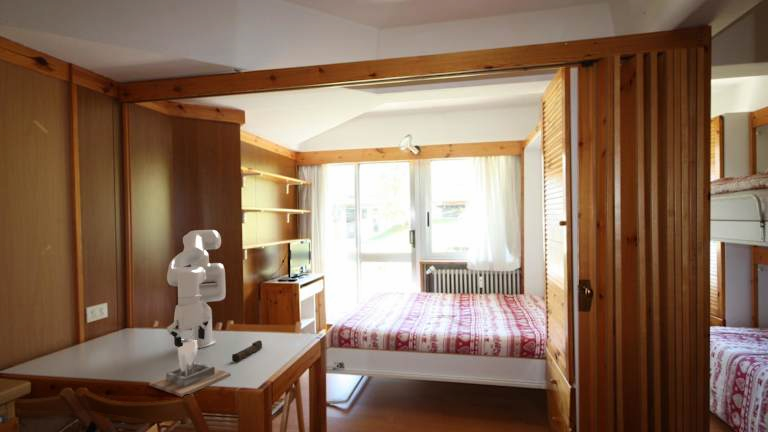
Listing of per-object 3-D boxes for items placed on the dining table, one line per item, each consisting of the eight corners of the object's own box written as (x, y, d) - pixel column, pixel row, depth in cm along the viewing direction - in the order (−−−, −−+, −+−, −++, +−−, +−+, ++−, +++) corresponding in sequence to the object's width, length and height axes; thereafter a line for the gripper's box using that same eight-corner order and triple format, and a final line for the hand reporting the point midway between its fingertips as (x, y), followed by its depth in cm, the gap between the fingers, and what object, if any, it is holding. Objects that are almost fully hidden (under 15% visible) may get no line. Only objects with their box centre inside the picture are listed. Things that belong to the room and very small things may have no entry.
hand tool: (238, 363, 160) (238, 352, 160) (231, 362, 162) (231, 351, 162) (266, 349, 178) (266, 339, 178) (260, 348, 179) (259, 339, 179)
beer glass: (177, 383, 137) (177, 343, 138) (178, 377, 143) (178, 339, 144) (197, 379, 140) (197, 341, 141) (197, 373, 147) (197, 336, 147)
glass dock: (149, 385, 139) (149, 374, 140) (197, 366, 157) (197, 357, 157) (182, 397, 129) (182, 385, 129) (230, 375, 146) (230, 365, 146)
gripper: (203, 294, 153) (204, 334, 153) (161, 304, 138) (162, 348, 138) (214, 296, 149) (215, 337, 149) (172, 306, 134) (174, 351, 134)
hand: (190, 342), depth 144 cm, fingers open, 9 cm apart
